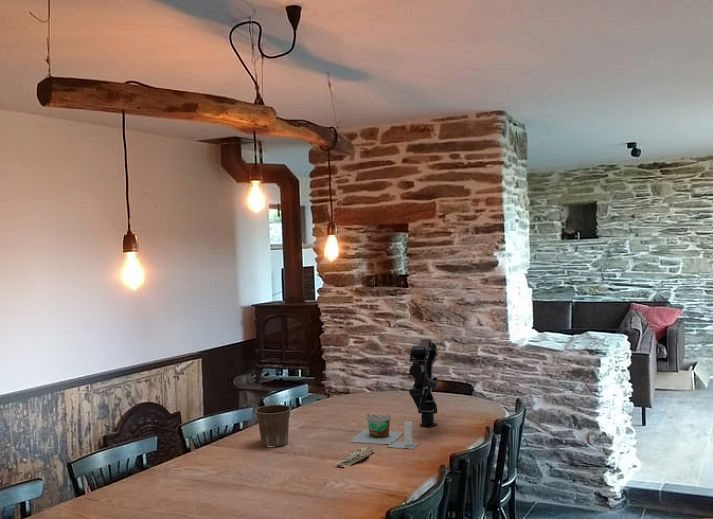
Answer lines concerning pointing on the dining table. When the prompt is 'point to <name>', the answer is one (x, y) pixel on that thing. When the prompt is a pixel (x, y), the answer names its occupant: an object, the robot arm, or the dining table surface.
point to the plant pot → (273, 424)
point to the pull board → (389, 438)
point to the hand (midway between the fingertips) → (421, 406)
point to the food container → (378, 425)
